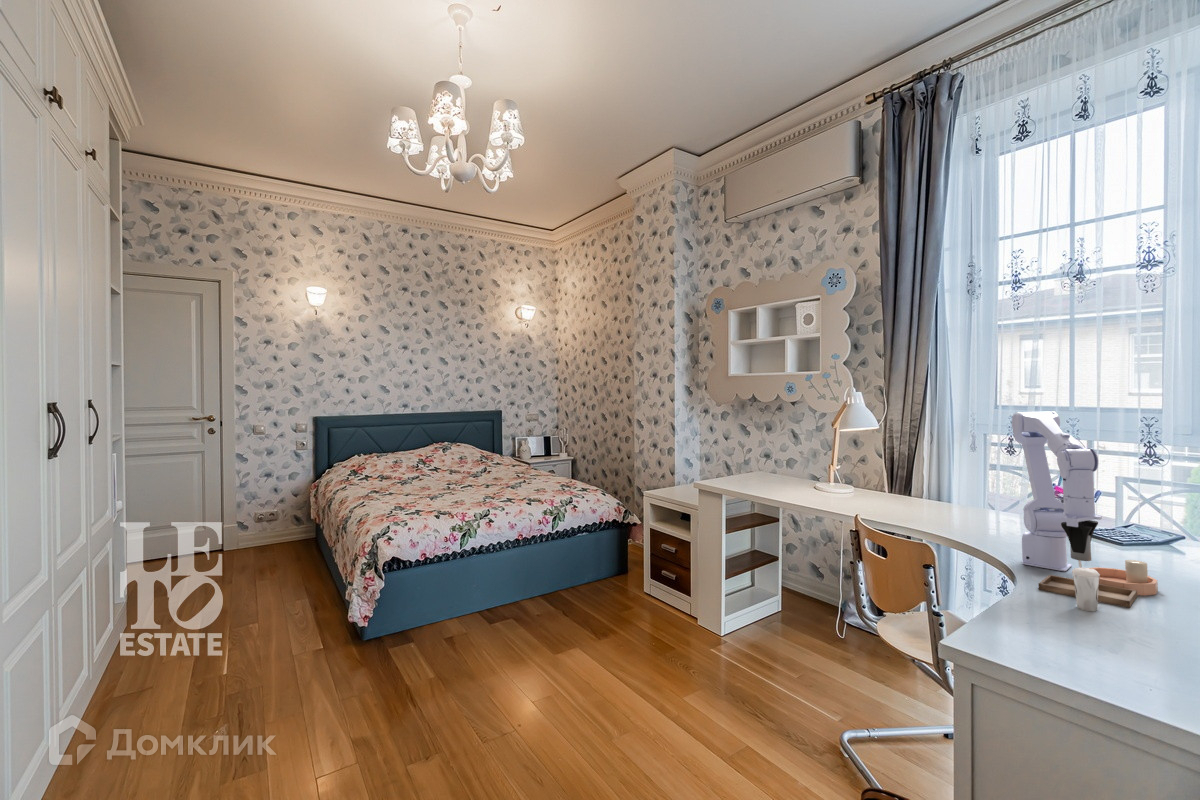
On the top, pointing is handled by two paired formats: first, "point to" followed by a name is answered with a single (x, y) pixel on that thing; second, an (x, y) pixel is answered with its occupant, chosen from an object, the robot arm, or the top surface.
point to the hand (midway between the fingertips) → (1080, 550)
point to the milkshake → (1086, 587)
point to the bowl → (1119, 580)
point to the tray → (1104, 591)
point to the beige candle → (1136, 571)
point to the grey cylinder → (1081, 556)
